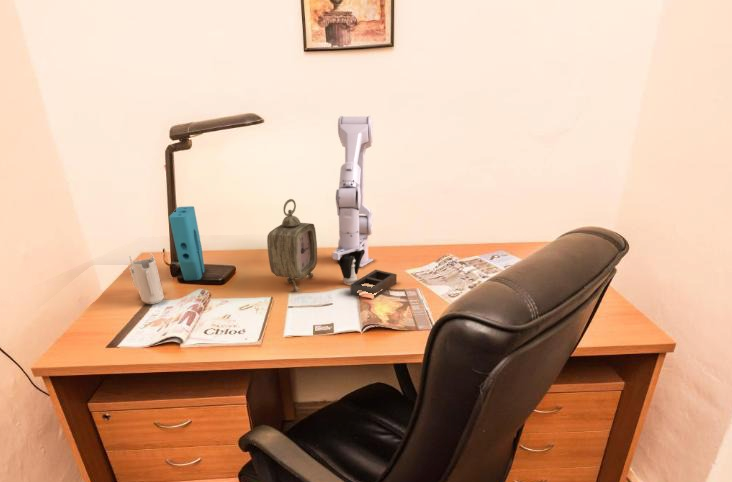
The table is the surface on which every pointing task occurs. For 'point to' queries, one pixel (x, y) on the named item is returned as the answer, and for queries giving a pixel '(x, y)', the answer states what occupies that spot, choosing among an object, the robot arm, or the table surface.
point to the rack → (374, 282)
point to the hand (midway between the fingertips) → (350, 275)
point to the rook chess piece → (353, 275)
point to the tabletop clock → (292, 248)
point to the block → (187, 242)
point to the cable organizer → (147, 280)
